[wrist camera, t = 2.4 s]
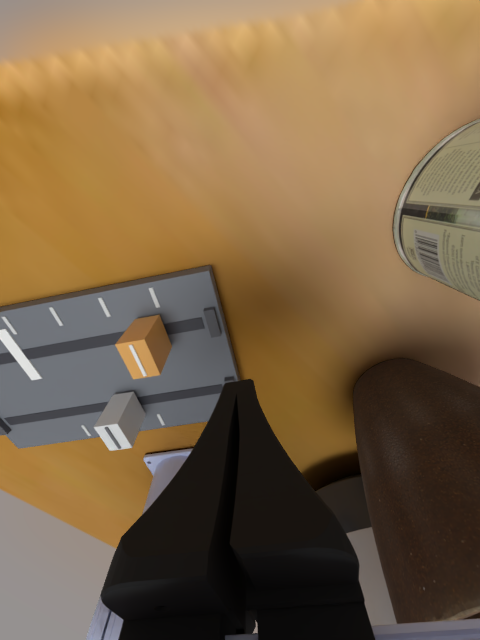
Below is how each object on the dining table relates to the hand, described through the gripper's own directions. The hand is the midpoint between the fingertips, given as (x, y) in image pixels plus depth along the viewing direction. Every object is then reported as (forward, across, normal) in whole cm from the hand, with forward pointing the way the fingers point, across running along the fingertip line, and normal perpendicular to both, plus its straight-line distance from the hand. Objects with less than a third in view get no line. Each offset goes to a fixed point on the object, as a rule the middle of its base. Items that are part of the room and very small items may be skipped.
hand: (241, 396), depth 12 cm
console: (+10, +14, +4) cm, 18 cm away
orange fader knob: (+8, +7, 0) cm, 11 cm away
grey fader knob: (+8, +12, +7) cm, 16 cm away
